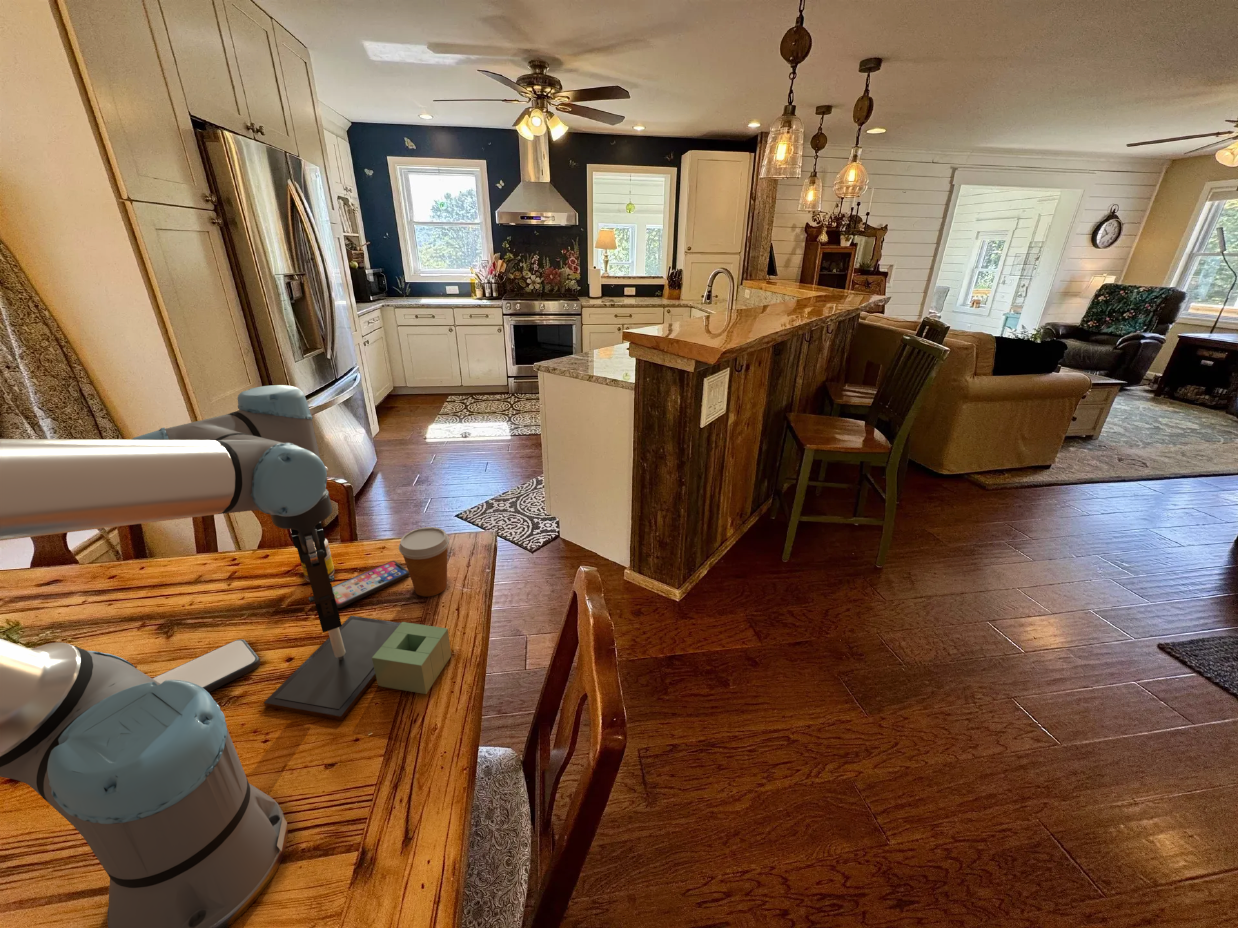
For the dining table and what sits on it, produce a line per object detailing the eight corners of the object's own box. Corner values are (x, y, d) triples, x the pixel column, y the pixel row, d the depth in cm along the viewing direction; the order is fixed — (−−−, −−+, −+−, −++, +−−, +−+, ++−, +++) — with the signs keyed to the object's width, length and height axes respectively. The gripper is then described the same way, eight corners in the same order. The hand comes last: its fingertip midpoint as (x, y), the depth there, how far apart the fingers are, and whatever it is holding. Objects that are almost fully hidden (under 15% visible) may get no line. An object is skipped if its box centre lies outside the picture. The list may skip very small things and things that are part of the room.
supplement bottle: (299, 583, 103) (288, 541, 99) (314, 568, 108) (303, 527, 104) (326, 583, 103) (316, 541, 99) (340, 568, 108) (330, 527, 104)
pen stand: (426, 694, 78) (421, 665, 75) (378, 686, 79) (371, 657, 77) (451, 655, 85) (447, 628, 83) (407, 648, 87) (402, 621, 84)
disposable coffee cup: (464, 578, 106) (458, 530, 101) (436, 606, 97) (428, 554, 92) (426, 569, 108) (419, 522, 103) (396, 596, 100) (386, 545, 95)
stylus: (342, 662, 82) (322, 589, 76) (333, 661, 82) (313, 587, 76) (348, 655, 83) (329, 582, 77) (340, 654, 84) (320, 581, 78)
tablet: (341, 721, 73) (340, 715, 73) (265, 707, 75) (263, 701, 74) (415, 628, 91) (414, 624, 91) (351, 619, 93) (350, 614, 93)
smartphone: (321, 590, 99) (393, 559, 110) (322, 594, 100) (394, 562, 110) (337, 606, 95) (410, 572, 105) (338, 610, 95) (411, 575, 106)
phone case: (244, 643, 87) (122, 699, 75) (242, 635, 87) (118, 692, 75) (263, 667, 82) (135, 732, 71) (261, 659, 82) (132, 724, 70)
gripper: (334, 507, 67) (364, 641, 76) (321, 471, 78) (349, 592, 87) (268, 522, 63) (309, 662, 72) (264, 481, 74) (300, 607, 83)
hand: (331, 623), depth 80 cm, fingers closed on stylus, 1 cm apart
